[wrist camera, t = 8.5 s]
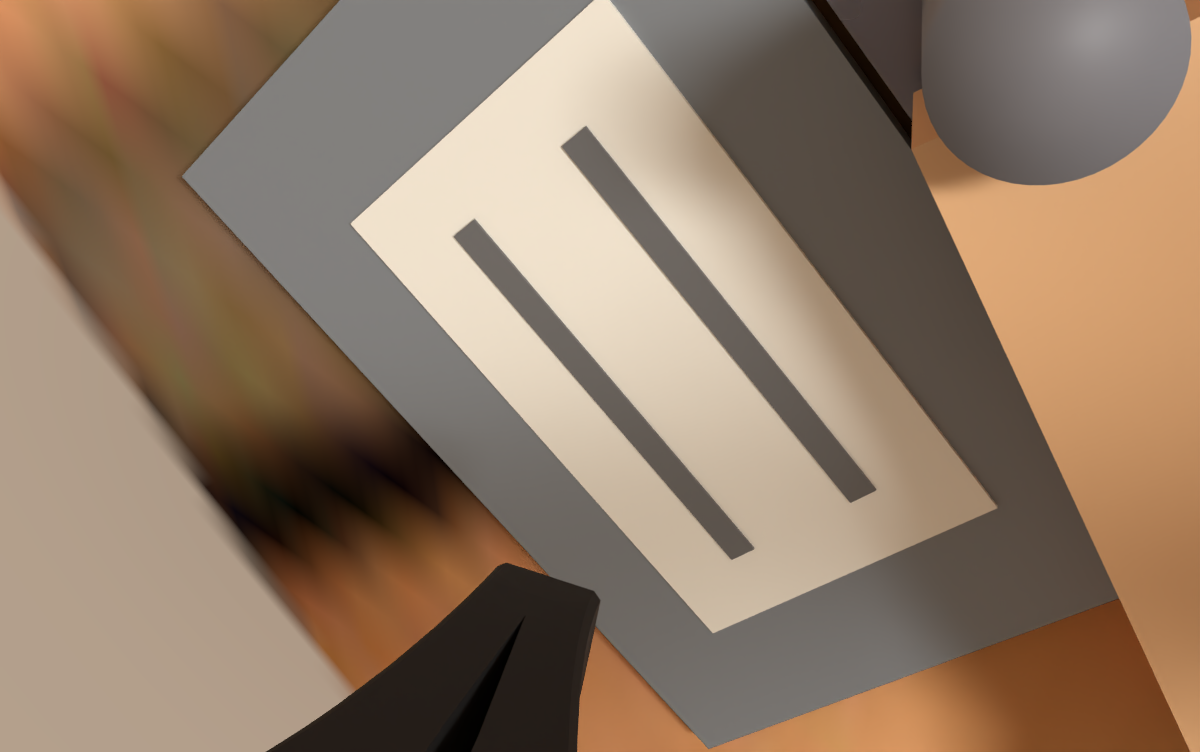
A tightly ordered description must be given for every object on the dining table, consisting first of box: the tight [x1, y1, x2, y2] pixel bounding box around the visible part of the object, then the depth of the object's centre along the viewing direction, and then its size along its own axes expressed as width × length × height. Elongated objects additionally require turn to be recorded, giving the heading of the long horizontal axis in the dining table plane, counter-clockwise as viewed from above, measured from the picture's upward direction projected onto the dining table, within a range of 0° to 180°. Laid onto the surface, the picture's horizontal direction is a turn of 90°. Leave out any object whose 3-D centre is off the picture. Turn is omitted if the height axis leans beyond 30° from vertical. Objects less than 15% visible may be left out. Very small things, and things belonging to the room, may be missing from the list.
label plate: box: [182, 0, 1119, 749], centre depth 20 cm, size 18×12×1 cm, turn 41°
